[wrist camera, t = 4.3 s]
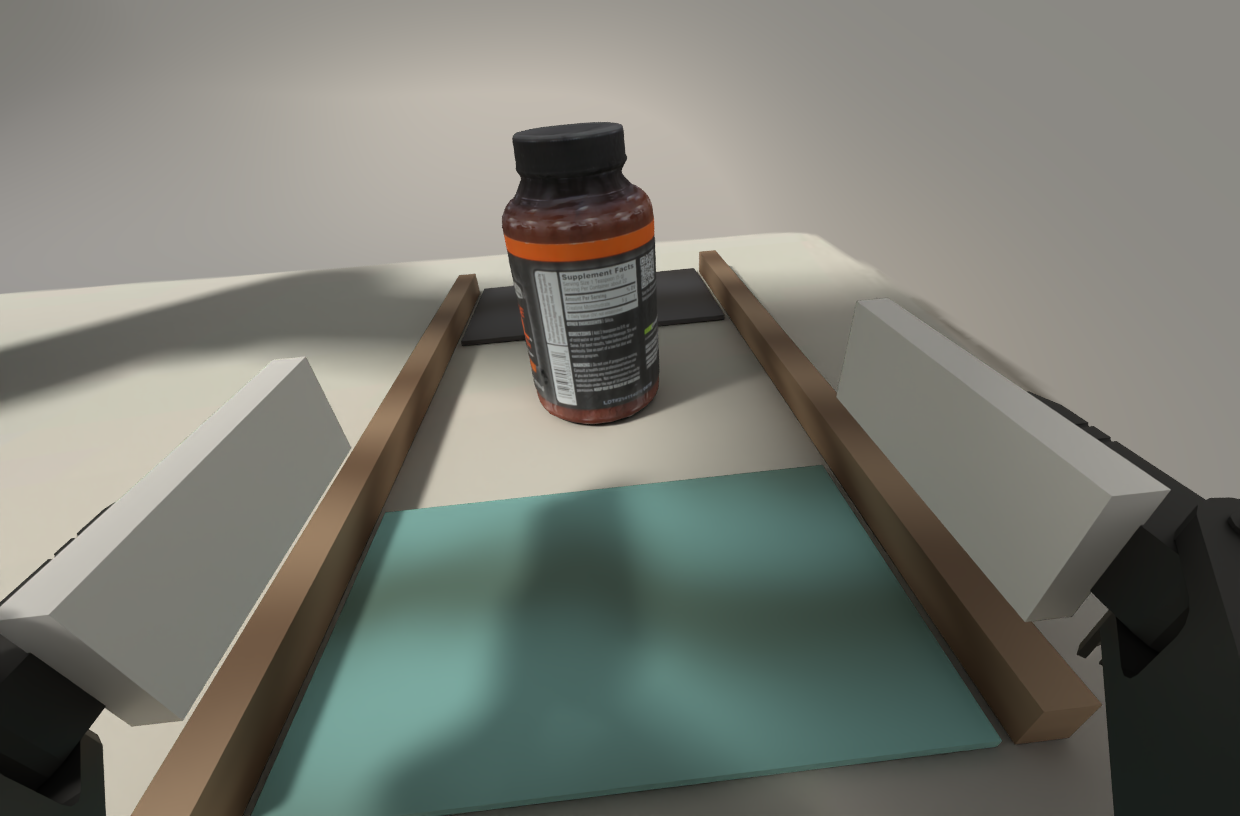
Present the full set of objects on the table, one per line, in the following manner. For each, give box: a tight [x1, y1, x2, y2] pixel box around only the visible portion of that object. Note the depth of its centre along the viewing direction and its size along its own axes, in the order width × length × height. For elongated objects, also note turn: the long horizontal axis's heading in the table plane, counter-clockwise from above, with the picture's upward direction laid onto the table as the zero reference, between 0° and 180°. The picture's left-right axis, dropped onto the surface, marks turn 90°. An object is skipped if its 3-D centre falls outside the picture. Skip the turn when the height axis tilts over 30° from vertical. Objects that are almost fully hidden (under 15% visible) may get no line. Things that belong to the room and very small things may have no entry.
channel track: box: [131, 250, 1102, 816], centre depth 23 cm, size 32×19×2 cm, turn 4°
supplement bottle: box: [502, 122, 659, 424], centre depth 20 cm, size 6×6×11 cm
